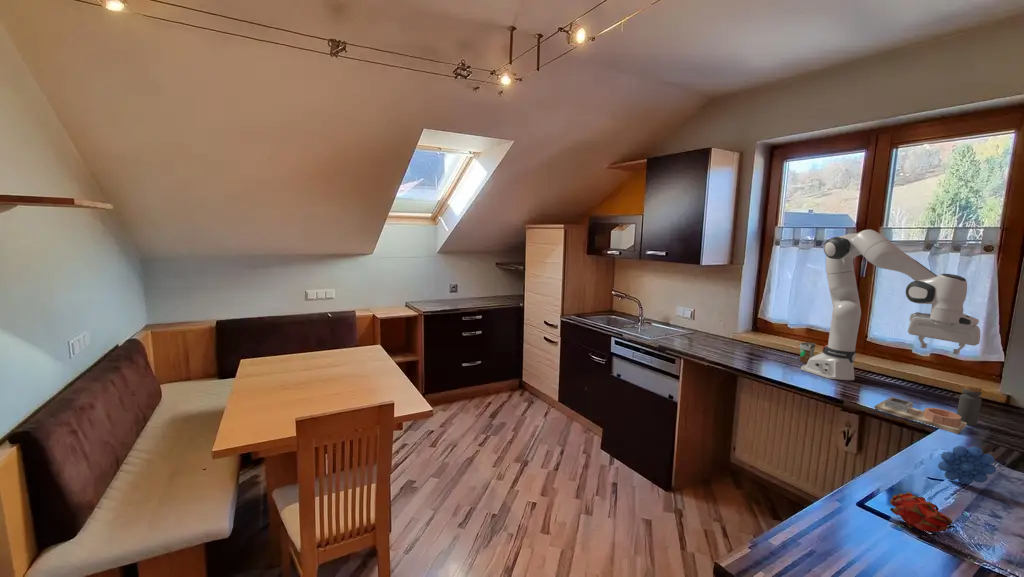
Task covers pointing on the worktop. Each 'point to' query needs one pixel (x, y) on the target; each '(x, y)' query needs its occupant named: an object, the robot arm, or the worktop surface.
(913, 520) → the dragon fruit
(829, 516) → the worktop surface
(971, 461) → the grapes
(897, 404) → the square holder
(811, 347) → the food container
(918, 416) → the wooden board
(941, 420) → the round holder
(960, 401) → the bottle
